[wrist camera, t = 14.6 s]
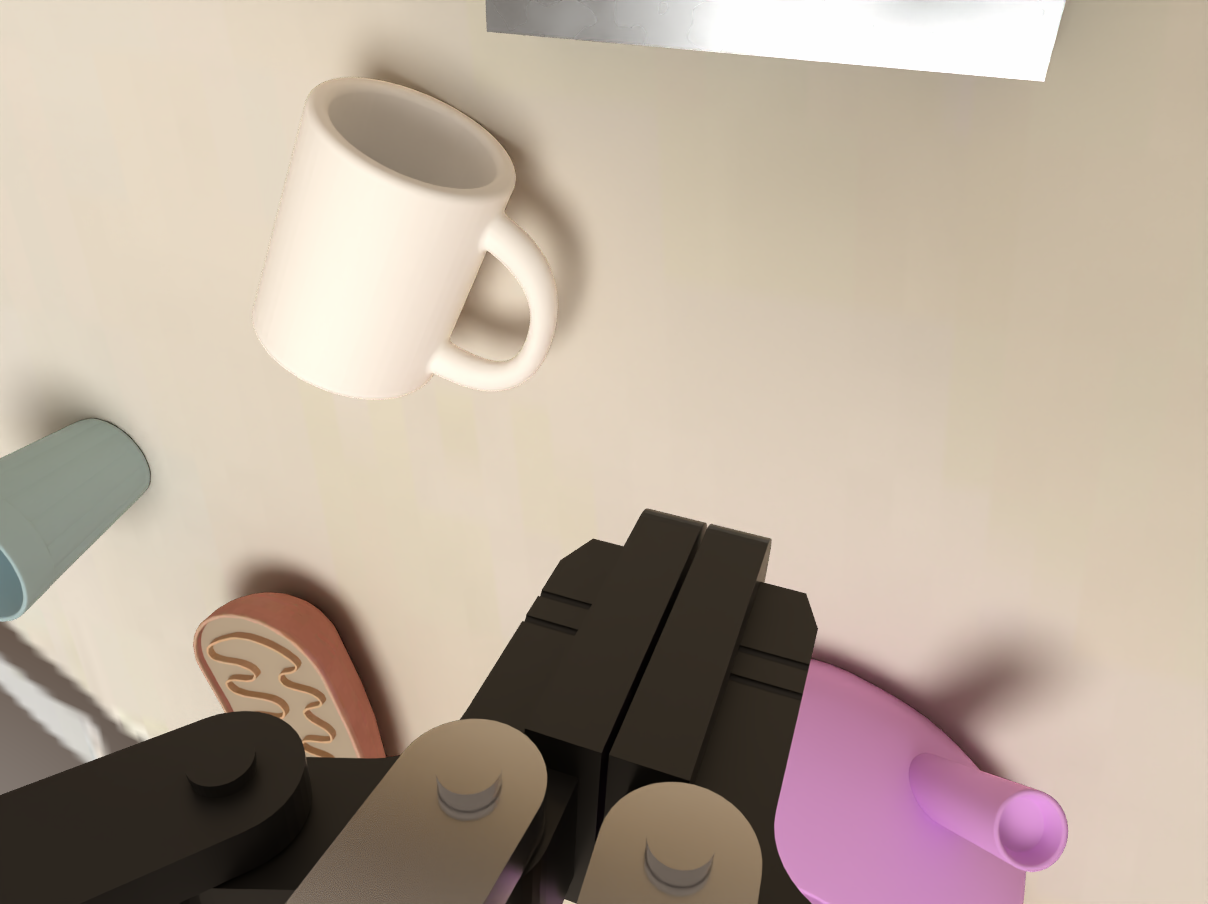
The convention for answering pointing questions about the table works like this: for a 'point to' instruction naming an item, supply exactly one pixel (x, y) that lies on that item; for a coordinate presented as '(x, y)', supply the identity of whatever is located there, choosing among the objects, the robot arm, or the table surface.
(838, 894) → the teapot
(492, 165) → the mug
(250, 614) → the anatomical model
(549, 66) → the table surface
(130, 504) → the cup
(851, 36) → the jig
